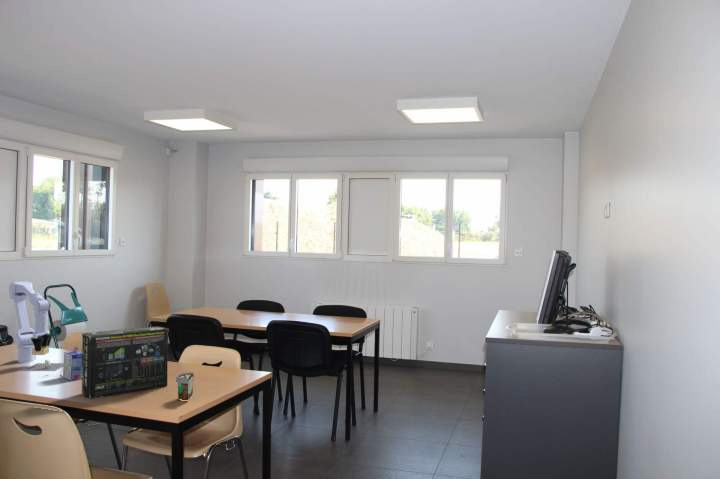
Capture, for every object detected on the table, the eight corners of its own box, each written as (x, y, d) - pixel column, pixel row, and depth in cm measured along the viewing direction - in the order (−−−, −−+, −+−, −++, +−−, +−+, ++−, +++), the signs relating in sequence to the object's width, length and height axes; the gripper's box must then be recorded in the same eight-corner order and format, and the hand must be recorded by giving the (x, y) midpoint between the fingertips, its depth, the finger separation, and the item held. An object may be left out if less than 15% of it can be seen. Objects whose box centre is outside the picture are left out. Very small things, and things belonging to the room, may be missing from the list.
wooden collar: (37, 352, 298) (37, 345, 298) (48, 352, 299) (49, 346, 299) (31, 354, 292) (32, 348, 292) (43, 354, 293) (44, 348, 293)
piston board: (37, 365, 301) (37, 355, 301) (69, 365, 303) (69, 355, 303) (20, 373, 283) (21, 362, 283) (54, 373, 285) (55, 362, 285)
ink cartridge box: (82, 379, 275) (83, 348, 275) (70, 380, 271) (71, 350, 271) (74, 375, 282) (75, 345, 282) (62, 377, 278) (63, 347, 278)
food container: (179, 394, 251) (179, 371, 251) (193, 394, 251) (194, 372, 252) (172, 402, 239) (172, 378, 239) (187, 402, 239) (187, 378, 239)
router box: (158, 381, 273) (159, 325, 273) (168, 386, 265) (170, 328, 265) (78, 394, 249) (80, 332, 249) (87, 399, 241) (88, 335, 241)
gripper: (43, 325, 289) (42, 352, 289) (55, 321, 303) (54, 347, 303) (28, 325, 288) (27, 352, 288) (41, 321, 303) (40, 347, 302)
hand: (40, 350), depth 296 cm, fingers closed on wooden collar, 6 cm apart
